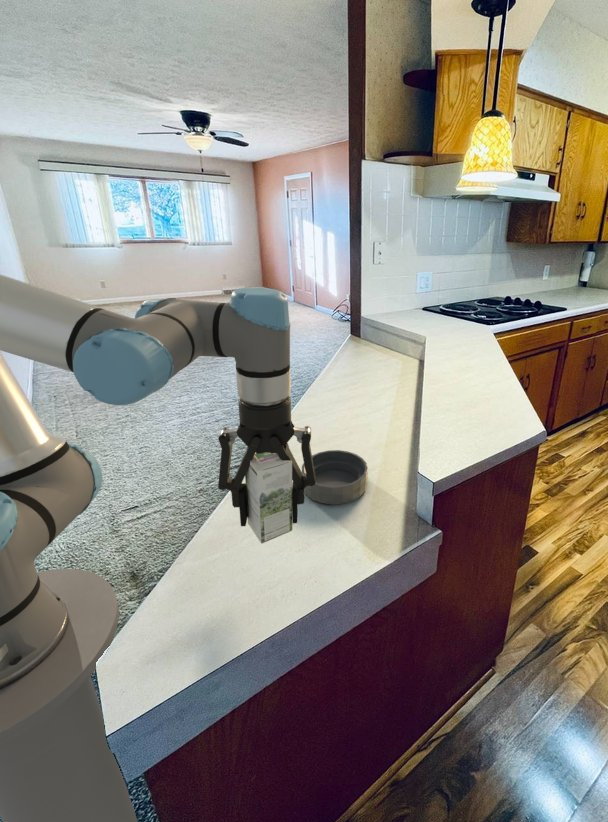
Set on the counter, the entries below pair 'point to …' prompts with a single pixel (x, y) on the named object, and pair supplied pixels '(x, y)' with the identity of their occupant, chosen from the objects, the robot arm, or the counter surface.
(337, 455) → the bowl
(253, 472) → the syrup box
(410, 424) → the counter surface
